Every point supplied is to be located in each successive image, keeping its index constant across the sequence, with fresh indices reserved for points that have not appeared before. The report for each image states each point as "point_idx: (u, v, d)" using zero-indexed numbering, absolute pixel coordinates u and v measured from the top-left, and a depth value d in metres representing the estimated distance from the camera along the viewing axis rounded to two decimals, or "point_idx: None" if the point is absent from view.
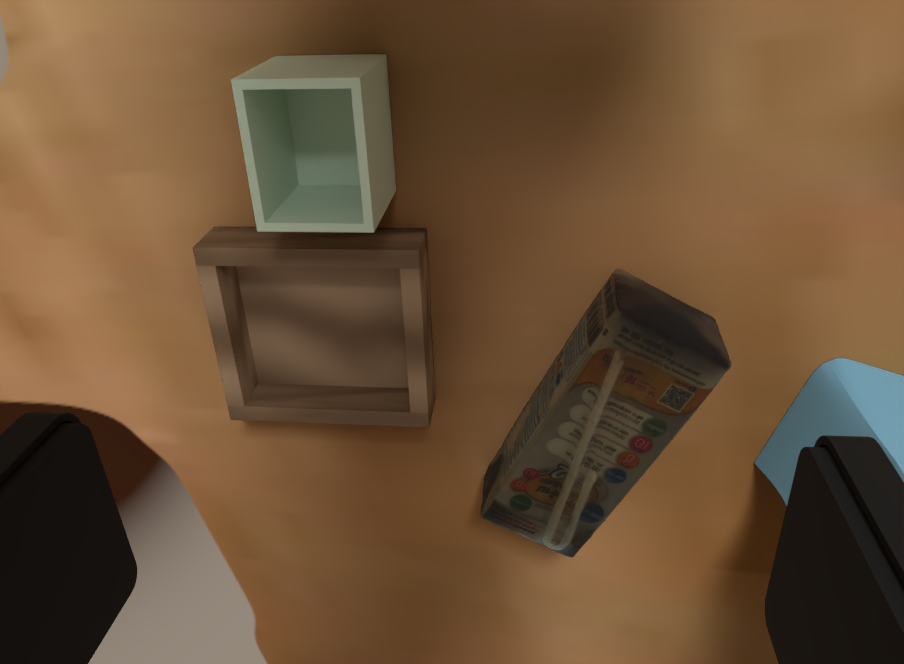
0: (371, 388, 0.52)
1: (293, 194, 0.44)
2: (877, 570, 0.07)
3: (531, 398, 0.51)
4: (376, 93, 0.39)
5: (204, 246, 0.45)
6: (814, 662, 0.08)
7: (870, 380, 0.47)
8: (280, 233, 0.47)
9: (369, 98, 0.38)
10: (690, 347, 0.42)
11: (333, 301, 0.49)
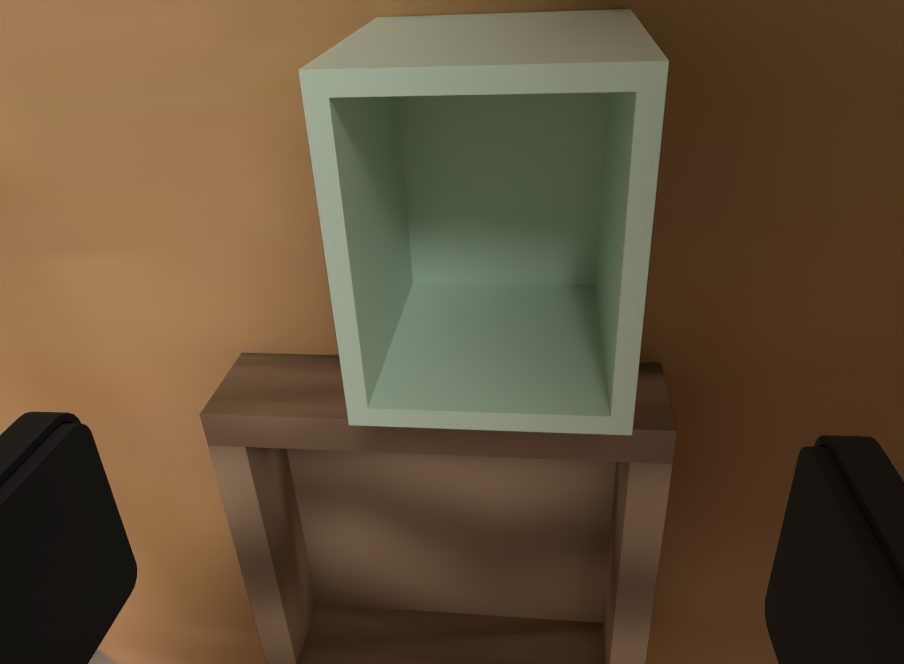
0: (520, 621, 0.29)
1: (410, 312, 0.21)
2: (877, 570, 0.07)
3: None
4: None
5: (224, 410, 0.22)
6: (814, 662, 0.08)
7: None
8: None
9: None
10: None
11: (463, 486, 0.26)
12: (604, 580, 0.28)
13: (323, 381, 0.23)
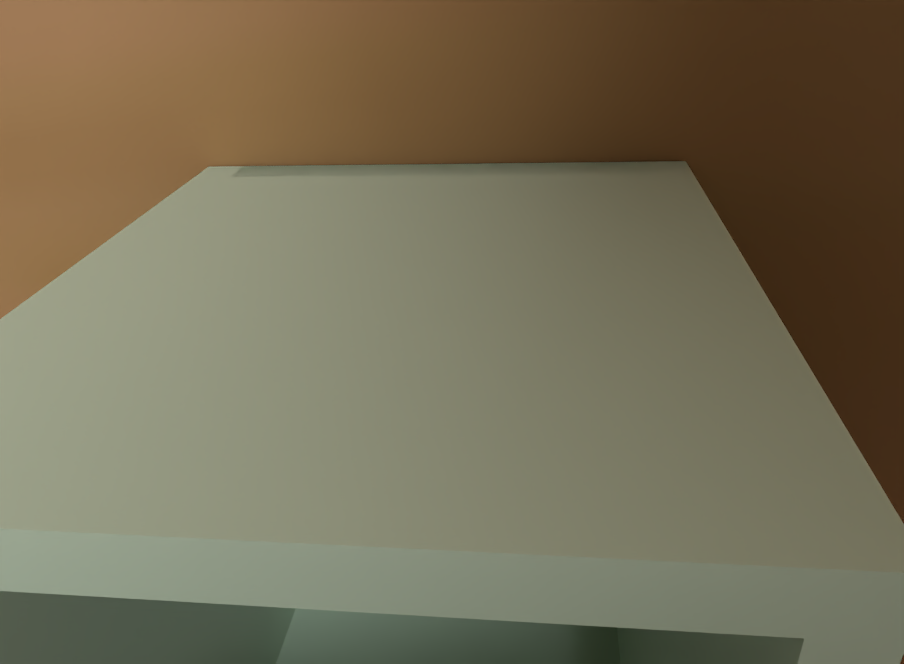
0: None
1: None
2: None
3: None
4: None
5: None
6: None
7: None
8: None
9: None
10: None
11: None
12: None
13: None
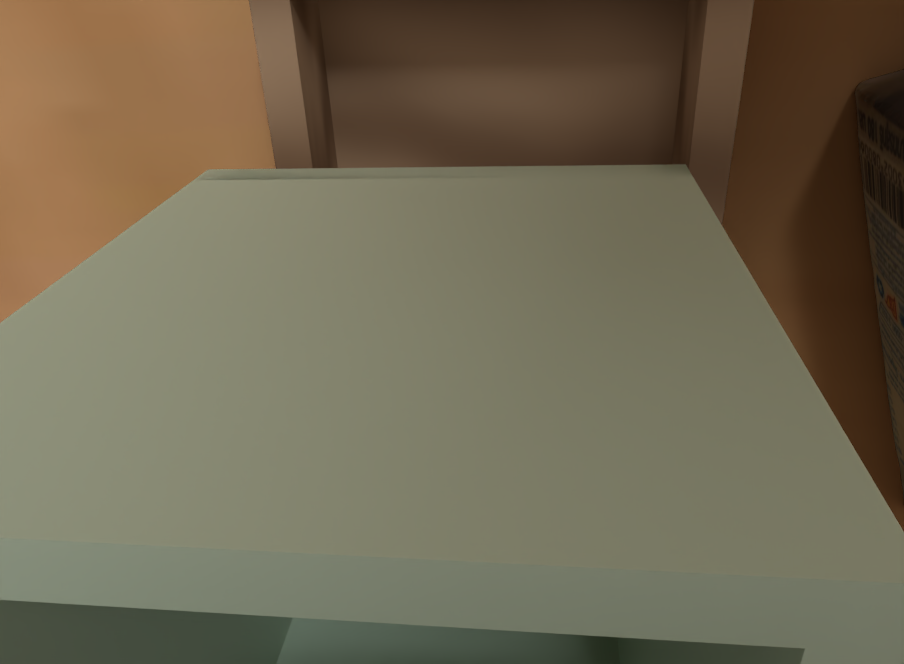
0: None
1: None
2: None
3: (887, 376, 0.28)
4: None
5: None
6: None
7: None
8: None
9: None
10: None
11: (515, 108, 0.25)
12: None
13: None
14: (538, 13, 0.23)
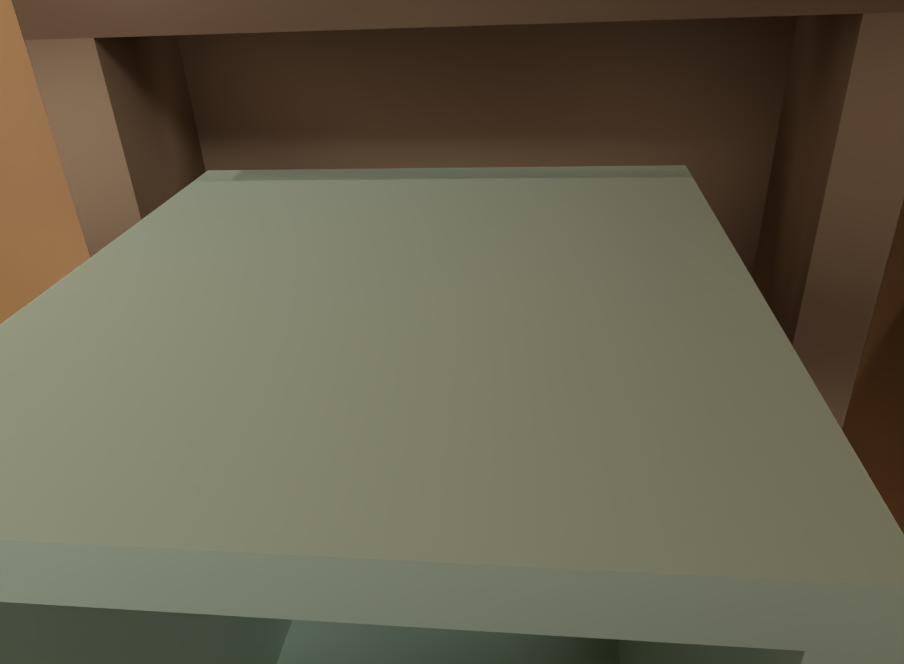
0: None
1: None
2: None
3: None
4: None
5: None
6: None
7: None
8: None
9: None
10: None
11: None
12: None
13: None
14: (538, 57, 0.14)
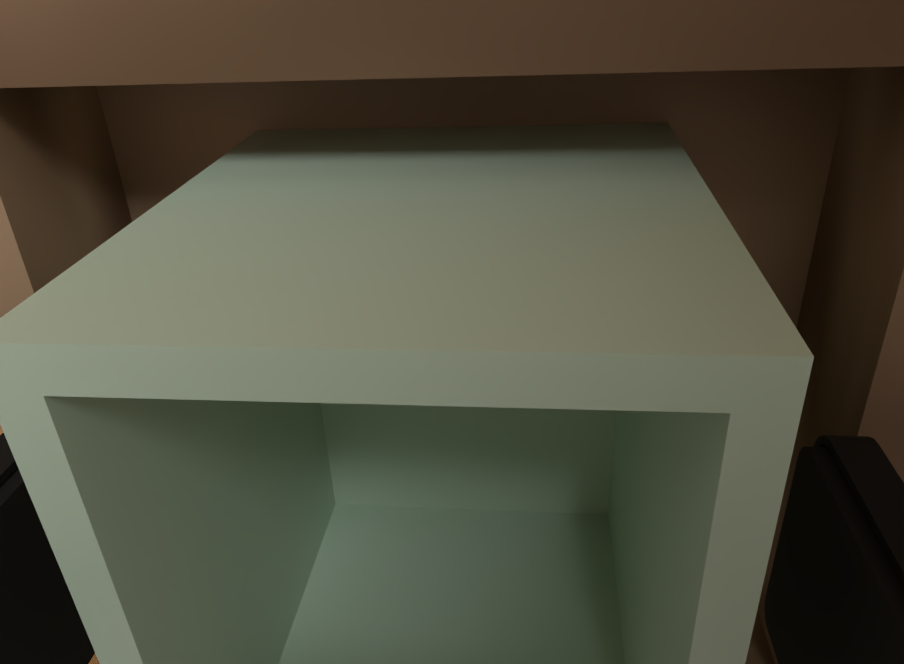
0: None
1: (323, 575, 0.13)
2: (876, 569, 0.07)
3: None
4: None
5: None
6: (813, 662, 0.08)
7: None
8: None
9: None
10: None
11: None
12: None
13: None
14: (532, 104, 0.11)
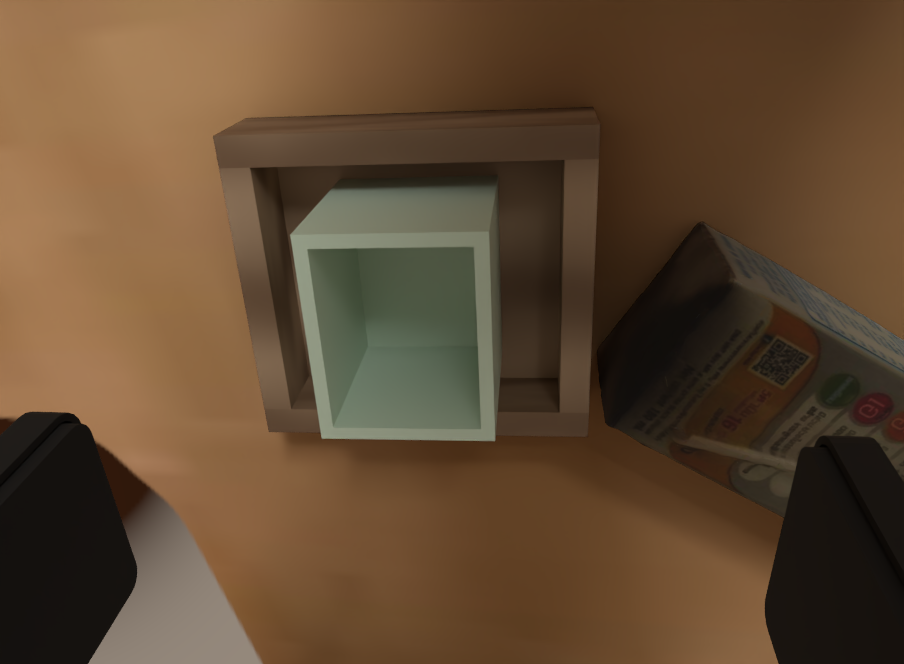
0: None
1: (364, 366, 0.31)
2: (877, 570, 0.07)
3: None
4: (495, 239, 0.27)
5: (232, 134, 0.27)
6: (814, 662, 0.08)
7: None
8: (355, 119, 0.29)
9: (492, 253, 0.25)
10: (685, 340, 0.26)
11: None
12: (557, 330, 0.32)
13: (314, 123, 0.28)
14: (447, 169, 0.30)
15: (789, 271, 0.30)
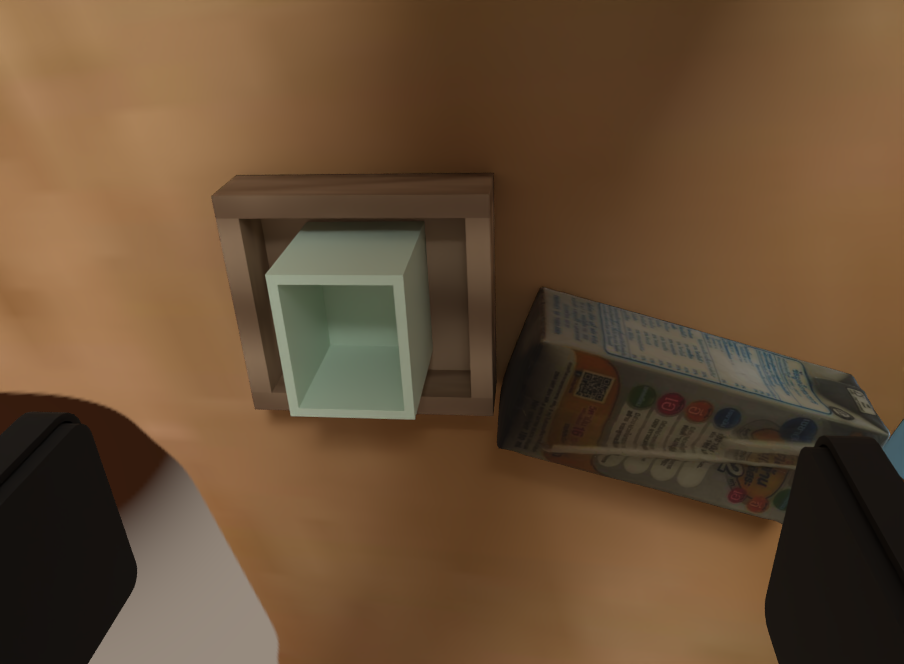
0: None
1: (326, 361, 0.42)
2: (877, 570, 0.07)
3: None
4: (416, 273, 0.37)
5: (225, 194, 0.37)
6: (814, 662, 0.08)
7: None
8: (316, 180, 0.39)
9: (410, 286, 0.36)
10: (526, 383, 0.38)
11: None
12: None
13: (286, 183, 0.38)
14: None
15: (615, 308, 0.41)
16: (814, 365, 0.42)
